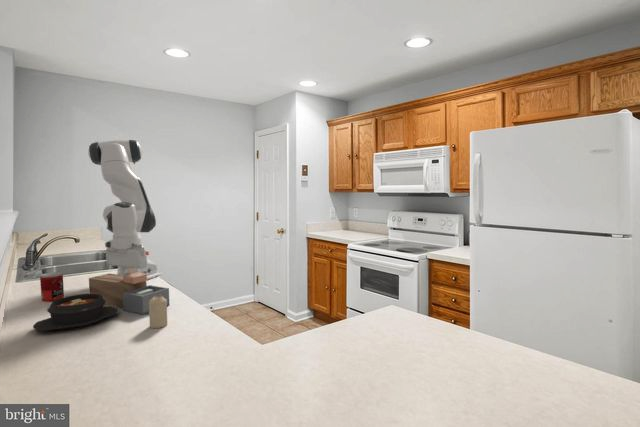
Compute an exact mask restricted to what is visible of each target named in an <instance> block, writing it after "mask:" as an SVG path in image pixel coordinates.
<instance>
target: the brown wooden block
mask: <svg viewBox="0 0 640 427" xmlns="http://www.w3.org/2000/svg"><path fill="white" fill-rule="evenodd" d="M88 286H89V290H88V291H89V294H99V295H101V296H102V297H103V299H104V300H105V301H106V302H105V304H104V306H108V307H114V308H116V309H123V293H124V292H127V291H131V290H134V289H138V288H141V287H145V286H147V281H143V282H139V283H136V284H131V283H125V282H123V275H117V274H116V273H106V274H102V275H101V274H100V275H97V276H94V277H93V276H92V277H88ZM123 310H124V309H123Z"/></svg>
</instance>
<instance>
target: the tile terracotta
mask: <svg viewBox="0 0 640 427" xmlns="http://www.w3.org/2000/svg"><path fill="white" fill-rule="evenodd" d="M143 281H146V282H147V281H148V280H147V274H142V273H133V274H129V275H125V276H123V282H125V283H131V284H136V283H139V282H143Z"/></svg>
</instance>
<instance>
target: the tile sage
mask: <svg viewBox="0 0 640 427" xmlns="http://www.w3.org/2000/svg"><path fill="white" fill-rule="evenodd" d="M149 293H153V290H152V289H147V290H144V291H140V292H137V293H136V294H137V295H146V294H149Z"/></svg>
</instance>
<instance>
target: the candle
mask: <svg viewBox="0 0 640 427" xmlns="http://www.w3.org/2000/svg"><path fill="white" fill-rule="evenodd" d="M148 314H149V318H148V319H149V328H151V329H161V328H160V327H162V328H165V327H166V326H168V306H167V300H166V299H165V298H164V297H162V296H159V297H157V296H154V297H153V298H152V299H151V300H150V301H149V313H148ZM164 326H165V327H164Z"/></svg>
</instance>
